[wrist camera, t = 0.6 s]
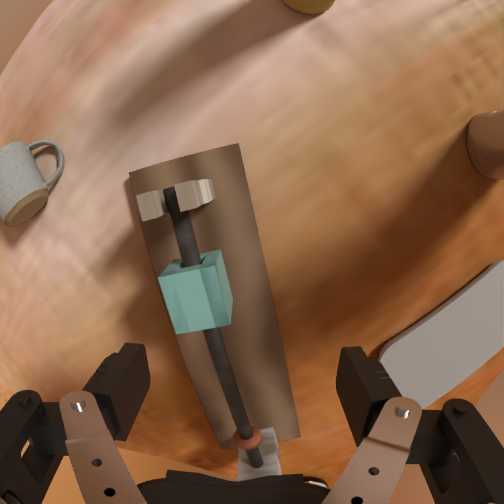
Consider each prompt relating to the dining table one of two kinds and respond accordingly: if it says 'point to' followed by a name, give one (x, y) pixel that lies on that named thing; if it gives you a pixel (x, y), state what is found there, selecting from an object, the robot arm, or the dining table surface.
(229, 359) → the stand
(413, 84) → the dining table surface
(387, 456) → the robot arm
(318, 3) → the paper tube
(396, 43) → the dining table surface
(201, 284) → the sleeve
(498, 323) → the tablet
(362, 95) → the dining table surface
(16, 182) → the ceramic mug
